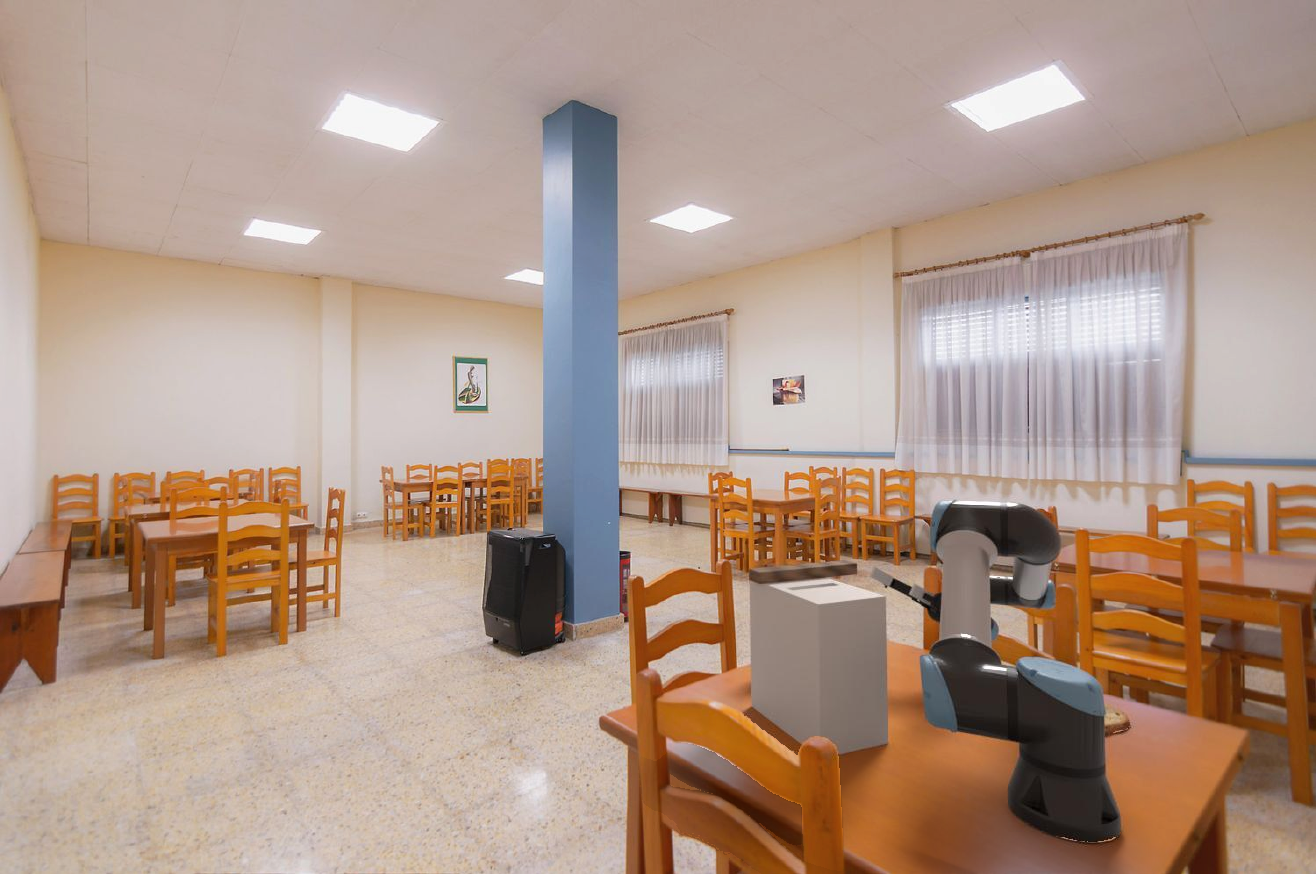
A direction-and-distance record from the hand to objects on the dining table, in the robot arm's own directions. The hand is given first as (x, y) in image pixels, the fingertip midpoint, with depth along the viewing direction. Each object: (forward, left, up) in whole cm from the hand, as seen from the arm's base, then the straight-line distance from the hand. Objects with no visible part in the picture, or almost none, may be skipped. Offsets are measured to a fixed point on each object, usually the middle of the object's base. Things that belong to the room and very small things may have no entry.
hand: (891, 580), depth 151 cm
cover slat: (-14, +19, +2) cm, 24 cm away
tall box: (-24, +16, -27) cm, 39 cm away
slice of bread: (-6, -36, -27) cm, 45 cm away
